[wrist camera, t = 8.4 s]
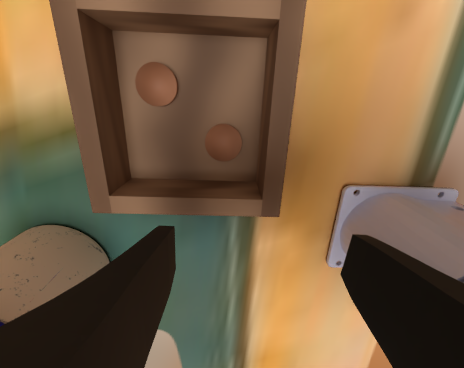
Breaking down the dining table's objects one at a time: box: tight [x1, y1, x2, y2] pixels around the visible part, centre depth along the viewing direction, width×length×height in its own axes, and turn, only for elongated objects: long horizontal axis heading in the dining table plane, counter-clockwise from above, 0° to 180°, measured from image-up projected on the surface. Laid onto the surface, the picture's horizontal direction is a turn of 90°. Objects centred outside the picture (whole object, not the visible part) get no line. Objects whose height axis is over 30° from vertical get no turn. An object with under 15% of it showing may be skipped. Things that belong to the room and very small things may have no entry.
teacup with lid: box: [0, 225, 110, 326], centre depth 15 cm, size 12×9×12 cm
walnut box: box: [49, 0, 307, 217], centre depth 14 cm, size 12×12×4 cm
